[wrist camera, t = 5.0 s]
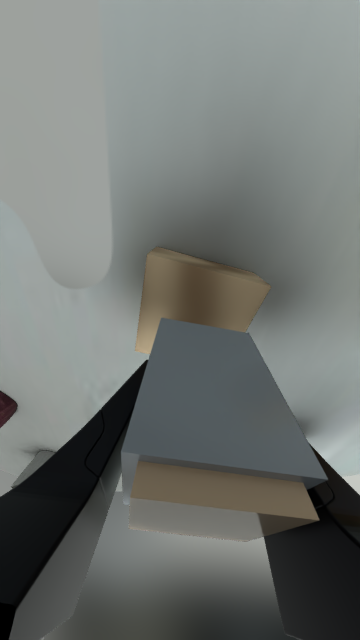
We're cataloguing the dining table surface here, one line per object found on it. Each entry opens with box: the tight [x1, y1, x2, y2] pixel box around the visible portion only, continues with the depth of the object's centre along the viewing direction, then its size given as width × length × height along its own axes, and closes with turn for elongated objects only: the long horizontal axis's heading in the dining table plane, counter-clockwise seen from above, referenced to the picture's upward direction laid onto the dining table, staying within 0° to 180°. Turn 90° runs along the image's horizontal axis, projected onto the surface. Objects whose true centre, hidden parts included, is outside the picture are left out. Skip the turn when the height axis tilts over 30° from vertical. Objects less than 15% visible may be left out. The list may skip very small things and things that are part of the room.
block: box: [135, 247, 271, 354], centre depth 15 cm, size 9×9×4 cm
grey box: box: [121, 318, 328, 542], centre depth 7 cm, size 5×5×7 cm
